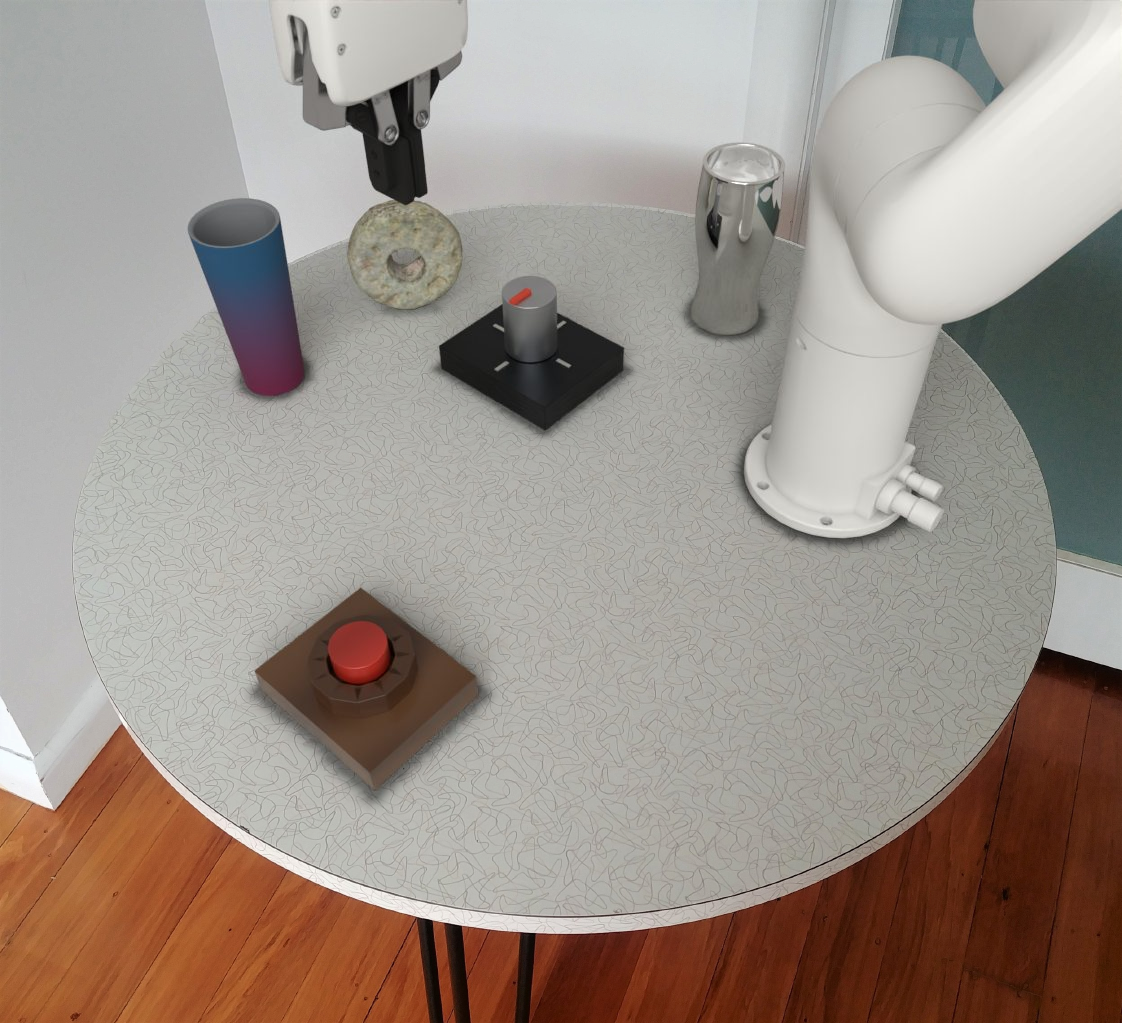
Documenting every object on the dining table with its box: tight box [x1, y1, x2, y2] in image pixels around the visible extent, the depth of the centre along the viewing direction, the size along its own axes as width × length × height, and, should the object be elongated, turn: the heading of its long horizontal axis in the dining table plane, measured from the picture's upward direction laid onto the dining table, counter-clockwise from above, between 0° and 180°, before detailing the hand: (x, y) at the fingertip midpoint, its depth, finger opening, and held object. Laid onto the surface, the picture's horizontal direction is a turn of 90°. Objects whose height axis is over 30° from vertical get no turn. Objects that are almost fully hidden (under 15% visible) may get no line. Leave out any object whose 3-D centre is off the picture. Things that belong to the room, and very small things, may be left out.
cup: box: [187, 197, 306, 397], centre depth 85 cm, size 7×7×15 cm
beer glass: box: [690, 141, 786, 336], centre depth 90 cm, size 7×7×15 cm
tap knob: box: [501, 275, 558, 362], centre depth 87 cm, size 4×4×6 cm
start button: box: [328, 621, 391, 684], centre depth 65 cm, size 4×4×2 cm
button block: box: [254, 587, 479, 791], centre depth 67 cm, size 11×9×4 cm
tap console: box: [438, 303, 625, 431], centre depth 90 cm, size 12×10×3 cm
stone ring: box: [346, 199, 464, 310], centre depth 94 cm, size 10×4×10 cm, turn 96°
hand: (399, 191), depth 63 cm, fingers closed
